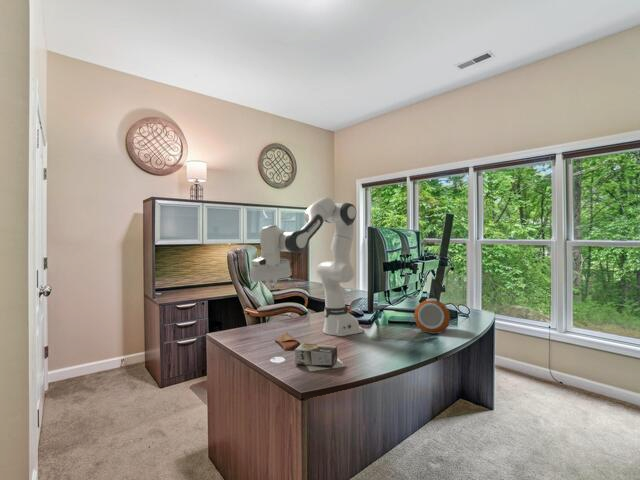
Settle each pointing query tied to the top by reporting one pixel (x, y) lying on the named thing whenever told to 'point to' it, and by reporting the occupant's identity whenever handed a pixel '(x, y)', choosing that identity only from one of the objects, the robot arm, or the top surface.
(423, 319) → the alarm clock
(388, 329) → the top surface
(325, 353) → the coffee box
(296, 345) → the sunglasses case
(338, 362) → the felt pad
